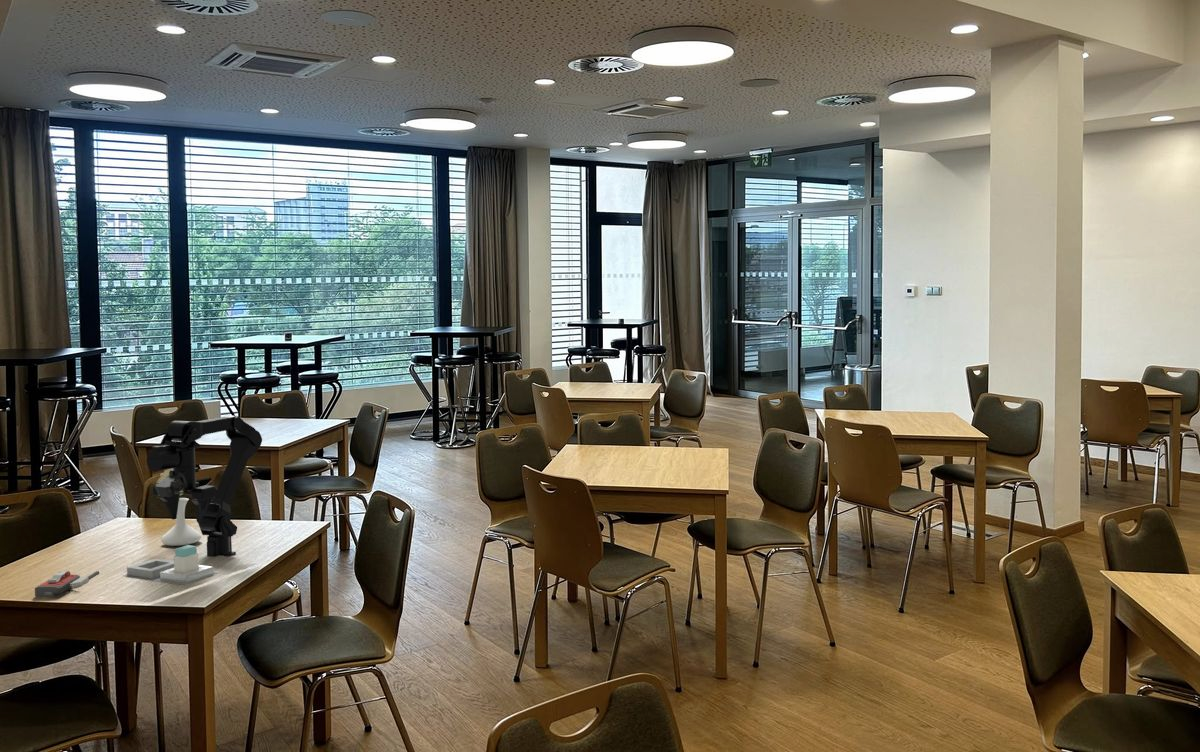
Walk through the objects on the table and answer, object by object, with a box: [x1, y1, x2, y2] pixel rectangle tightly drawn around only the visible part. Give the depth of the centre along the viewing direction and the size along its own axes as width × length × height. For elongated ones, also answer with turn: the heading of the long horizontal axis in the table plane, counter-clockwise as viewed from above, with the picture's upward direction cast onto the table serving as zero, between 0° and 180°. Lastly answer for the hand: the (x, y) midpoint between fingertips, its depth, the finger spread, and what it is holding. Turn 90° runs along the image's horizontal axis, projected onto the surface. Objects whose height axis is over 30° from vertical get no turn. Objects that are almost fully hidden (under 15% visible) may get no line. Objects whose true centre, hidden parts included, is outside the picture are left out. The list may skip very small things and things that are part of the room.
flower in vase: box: [156, 468, 202, 547], centre depth 298 cm, size 13×11×25 cm
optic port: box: [160, 564, 214, 584], centre depth 262 cm, size 9×10×2 cm
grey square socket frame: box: [126, 558, 174, 578], centre depth 266 cm, size 9×10×2 cm
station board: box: [122, 571, 218, 586], centre depth 264 cm, size 22×12×1 cm, turn 67°
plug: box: [173, 544, 200, 574], centre depth 261 cm, size 4×5×8 cm
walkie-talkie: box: [34, 570, 100, 598], centre depth 256 cm, size 9×4×20 cm
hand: (186, 520), depth 274 cm, fingers open, 9 cm apart
